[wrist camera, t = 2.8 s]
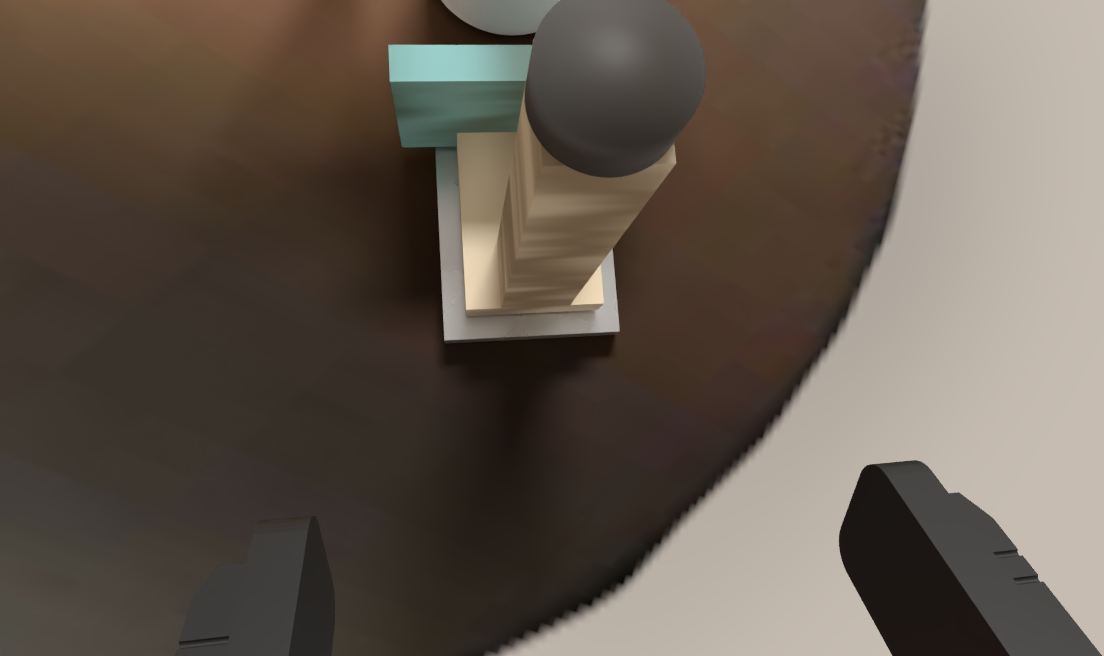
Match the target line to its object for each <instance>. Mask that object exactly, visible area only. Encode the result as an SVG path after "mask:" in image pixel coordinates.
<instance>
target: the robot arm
mask: <svg viewBox="0 0 1104 656" xmlns="http://www.w3.org/2000/svg"><path fill="white" fill-rule="evenodd" d="M839 547H840V554H841V558H842V561H843V564H844V567H845V569H846V572H847V573H848V575H849V577H850V579H851V581H852V583H853V584H854V586H855V588H856V590H857V592H858V594H859V595H860V597H861V599H862V601H863V603H864V605H865V606H866V608H867V610H868V612H869V614H870V616H871V617H872V619H873V621H874V623H875V625H876V626H877V628H878V630H879V632H880V634H881V635H882V637H883V639H884V641H885V643H886V645H887V647H888V648H889V650H890V652H891V654H892V656H1102V655H1101V654H1100V653H1099V651H1098V650H1097V649H1096V648H1095V646H1094V645H1093V644H1092V643H1091V641H1090V640H1089V639H1088V638H1087V636H1086V635H1085V634H1084V633H1083V631H1082V630H1081V629H1080V627H1079V626H1078V625H1077V624H1076V622H1075V621H1074V620H1073V619H1072V617H1071V616H1070V615H1069V614H1068V612H1067V611H1066V610H1065V609H1064V607H1063V606H1062V605H1061V603H1060V602H1059V601H1058V600H1057V598H1056V597H1055V596H1054V595H1053V593H1052V592H1051V591H1050V590H1049V588H1048V587H1047V586H1046V584H1045V583H1044V582H1040V581H1039V580H1038V574H1037V573H1036V572H1035V571H1034V569H1033V568H1032V567H1031V566H1030V564H1029V563H1028V562H1027V560H1026V559H1025V558H1024V557H1023V556H1019V555H1018V552H1017V550H1018V549H1017V548H1016V547H1015V545H1014V544H1013V543H1012V542H1011V540H1010V539H1009V538H1008V537H1007V535H1006V534H1005V533H1004V531H1003V530H1002V529H1001V528H1000V527H999V525H998V524H997V523H996V521H995V520H994V519H993V518H992V517H991V516H989V515H988V514H987V513H985V512H984V511H983V510H981V509H980V508H979V507H978V506H976V505H975V504H973V503H972V502H971V501H969V500H968V499H967V498H966V497H964V496H963V495H962V494H960V493H948V492H947V491H946V489H945V488H944V487H943V485H942V484H941V483H940V482H939V480H938V479H937V478H936V476H935V475H934V474H933V472H932V471H931V470H930V469H929V467H928V466H926V465H925V464H923V463H922V462H920V461H903V462H893V463H883V464H872V465H867V466H866V467H865V468H864V469H863V470H862V472H861V474H860V477H859V480H858V482H857V485H856V488H855V490H854V493H853V496H852V499H851V501H850V504H849V507H848V510H847V512H846V515H845V518H844V521H843V524H842V526H841V530H840V534H839ZM334 626H335V596H334V586H333V581H332V576H331V572H330V568H329V564H328V560H327V556H326V552H325V548H324V544H323V539H322V535H321V531H320V527H319V523H318V520H317V518H316V516H303V517H293V518H282V519H272V520H261V521H258V522H257V524H256V526H255V528H254V531H253V535H252V539H251V544H250V548H249V552H248V557H247V561H246V563H239V564H229V565H219V566H216V568H215V569H214V570H213V572H212V573H211V574H210V576H209V577H208V578H207V580H206V581H205V583H204V584H203V585H202V587H201V588H200V589H199V591H198V592H197V593H196V595H195V596H194V598H193V599H192V600H191V602H190V605H189V609H188V612H187V616H186V619H185V623H184V626H183V630H182V633H181V636H180V640H179V649H178V650H176V654H175V656H331V655H332V646H333V636H334Z"/></svg>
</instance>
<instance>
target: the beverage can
mask: <svg viewBox="0 0 1104 656" xmlns="http://www.w3.org/2000/svg"><path fill="white" fill-rule="evenodd" d="M441 1H442V2H443V3H444V5H445V6H446V7H447V8H448V9H449V10H450V11H451V12H452V13H454V14H455V15H456V16H457V17H459V18H460V19H461V20H463V21H464V22H466V23H468V24H470V25H472V26H474V27H476V28H478V29H481V30H483V31H487V32H490V33H494V34H500V35H525V34H531V33H535V32H537V29H538V27H539V25H540V23H541V21H542V20H543V18H544V17H545V15H546V14H547V13H548V11H549V10H550V9H551V8H552V7H553V6H554V5H555V4H556V3H557V2H559V1H560V0H441Z"/></svg>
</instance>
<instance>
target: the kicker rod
mask: <svg viewBox="0 0 1104 656" xmlns="http://www.w3.org/2000/svg"><path fill="white" fill-rule="evenodd" d="M388 46H389V73H390V85H391V91H392V96H393V101H394V107H395V112H396V118H397V123H398V128H399V134H400V139H401V145H402V147H455V146H457V158H458V177H459V196H460V216H461V235H462V254H463V273H464V292H465V311H466V316H479V315H500V314H522V313H543V312H565V311H586V310H598V309H599V308H600V307H601V306H602V305H603V304H604V298H603V286H602V273H601V263H602V262H603V260H604V259H605V258H606V256H607V255H608V254H609V252H610V251H611V250H612V248H613V247H614V246H615V244H616V243H617V242H618V240H619V239H620V238H621V236H622V235H623V234H624V232H625V231H626V230H627V228H628V227H629V226H630V224H631V223H632V222H633V220H634V219H635V218H636V216H637V215H638V214H639V212H640V211H641V210H642V208H643V207H644V206H645V204H646V203H647V202H648V200H649V199H650V198H651V196H652V195H653V194H654V192H655V191H656V190H657V188H658V187H659V186H660V184H661V183H662V182H663V180H664V179H665V178H666V176H667V175H668V174H669V172H670V171H671V170H672V168H673V167H674V166H675V164H676V157H675V147H674V142H675V140H676V139H677V137H678V136H679V134H680V133H681V132H682V130H683V129H684V127H685V126H686V124H687V123H688V121H689V120H690V119H691V117H692V116H693V114H694V112H695V111H696V109H697V107H698V105H699V103H700V100H701V98H702V95H703V91H704V87H705V79H706V65H705V59H704V53H703V50H702V47H701V44H700V41H699V39H698V37H697V35H696V33H695V31H694V30H693V28H692V26H691V25H690V23H689V22H688V21H687V20H686V18H685V17H684V16H683V15H682V14H681V13H680V12H679V11H678V10H677V9H676V8H675V7H674V6H673V5H671V4H670V3H669V2H667V1H666V0H560V1H559V2H557V3H556V4H555V5H554V6H553V7H552V8H551V9H550V10H549V11H548V13H547V14H546V15H545V17H544V18H543V20H542V21H541V23H540V25H539V27H538V29H537V32H536V34H535V38H534V39H533V44H532V45H388Z"/></svg>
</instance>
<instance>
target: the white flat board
mask: <svg viewBox="0 0 1104 656" xmlns="http://www.w3.org/2000/svg"><path fill="white" fill-rule="evenodd" d="M435 154H436V175H437V196H438V217H439V238H440V259H441V280H442V301H443V322H444V341H445V344H447V343H467V342H486V341H505V340H525V339H544V338H564V337H583V336H603V335H616V334H617V333H618V332H620V330H619V319H618V307H617V295H616V283H615V272H614V260H613V248H612V250H611V251H610V252H609V254H608V255H607V256H606V258H605V259H604V260H603V262H602V263H601V273H602V286H603V298H604V304H603V305H602V306H601V307H600V308H599V309H598V310H586V311H565V312H543V313H522V314H500V315H479V316H466V311H465V292H464V273H463V254H462V235H461V216H460V196H459V177H458V158H457V146H455V147H435Z"/></svg>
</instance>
